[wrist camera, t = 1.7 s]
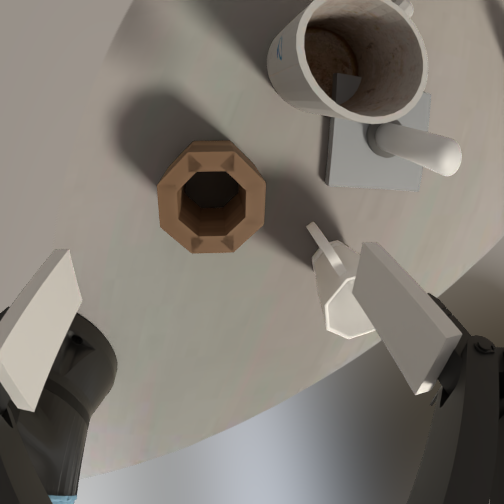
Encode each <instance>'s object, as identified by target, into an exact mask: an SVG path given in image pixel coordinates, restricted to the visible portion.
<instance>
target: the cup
mask: <svg viewBox="0 0 504 504" xmlns="http://www.w3.org/2000/svg"><path fill="white" fill-rule="evenodd" d="M306 227H307V229H308V231H309V232H310V234H311V235H312V237H313V238H314V240H315V241H316V243H317V245H318V246H319V248H318V250H317V251H316V252H315V254H314V255H313V256H312V264H313V271H314V273H315V275H316V283H317V291H318V296H319V300H320V304H321V308H322V312H323V316H324V321H325V325H326V329H327V330H328V331H330V332H333V333H335V334H337V335H340V336H342V337H345V338H347V339H351V338H354V337H357V336H360V335H363V334H366V333H369V332H372V331H375V330H376V329H375V328H374V326H373V325H372V323H371V322H370V320H369V318H368V317H367V315H366V314H365V312H364V311H363V309H362V308H361V306H360V304H359V303H358V301H357V300H356V298H355V297H354V295H353V294H352V290H353V286H354V282H355V277H356V273H357V268H358V264H359V259H360V254H359V253H357V252H356V251H354V250H353V249H351V248H349V247H348V246H346V245H345V244H343V243H342V242H340V241H338V240H336V241H332V242H328V240H327V239H326V237H325V236H324V235H323V233H322V232H321V230H320V229H319V228H318V226H317V225H316V224H315V223H314V222H311V223H310V224H308V225H307V226H306Z"/></svg>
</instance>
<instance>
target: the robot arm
mask: <svg viewBox="0 0 504 504" xmlns="http://www.w3.org/2000/svg"><path fill="white" fill-rule="evenodd" d="M352 294H353V295H354V297H355V298H356V300H357V301H358V303H359V304H360V306H361V308H362V309H363V311H364V312H365V314H366V315H367V317H368V318H369V320H370V322H371V323H372V325H373V326H374V328H375V329H376V331H377V333H378V334H379V336H380V337H381V339H382V341H383V342H384V344H385V346H386V347H387V349H388V350H389V352H390V354H391V355H392V357H393V359H394V360H395V362H396V364H397V365H398V367H399V369H400V370H401V372H402V374H403V375H404V377H405V379H406V380H407V382H408V384H409V386H410V387H411V389H412V391H413V392H414V394H415V395H417V394H420V393H424V392H427V391H430V390H431V389H432V387H433V386H434V384H435V383H436V381H437V380H439V381H440V383H441V384H442V386H441V387H440V389H439V391H438V392H437V394H436V395H435V397H434V398H433V400H432V401H431V403H430V405H431V406H432V405H433V404H434V402H435V401H436V406H435V410H434V415H433V419H432V424H431V428H430V432H429V436H428V440H427V444H426V447H425V451H424V454H423V457H422V461H421V464H420V467H419V470H418V473H417V477H416V479H415V482H414V485H413V488H412V491H411V494H410V496H409V499H408V501H407V504H489V499H490V504H504V348H498V347H495V346H494V344H493V343H492V342H491V341H489V340H488V339H486V338H485V337H482V336H471V335H470V334H469V333H468V332H467V330H466V329H465V328H464V327H463V326H462V325H461V323H460V322H459V321H458V320H457V319H456V318H455V317H454V316H452V313H451V312H450V311H449V310H448V309H446V307H445V305H444V304H443V303H441V301H440V300H439V299H437V298H436V297H434V296H433V295H431V294H430V293H426V292H425V291H424V290H423V289H422V288H421V287H420V285H419V284H418V283H417V282H416V281H415V280H414V279H413V278H412V277H411V276H410V275H409V274H408V273H407V272H406V271H405V270H404V269H403V268H402V267H401V266H400V265H399V264H398V263H397V261H396V260H395V259H394V258H393V257H392V256H391V255H390V254H389V253H388V252H387V251H386V250H385V249H384V248H383V247H382V246H381V245H379V244H378V243H377V242H363V244H362V249H361V254H360V259H359V264H358V268H357V273H356V277H355V282H354V286H353V290H352ZM81 303H82V297H81V294H80V290H79V287H78V283H77V279H76V276H75V272H74V268H73V264H72V259H71V255H70V251H69V249H55V250H54V251H53V253H52V254H51V255H50V256H49V257H48V259H47V260H46V261H45V262H44V263H43V265H42V266H41V267H40V268H39V270H38V271H37V272H36V273H35V275H34V276H33V277H32V279H31V280H30V281H29V282H28V284H27V285H26V286H25V288H24V289H23V290H22V292H21V293H20V294H19V296H18V297H17V298H16V300H15V301H14V302H13V304H12V305H11V307H7V308H6V309H5V310H4V311H3V312H1V313H0V504H74V501H75V500H76V499H77V490H78V482H79V476H80V469H81V463H82V457H83V451H84V446H85V441H86V436H87V430H88V426H89V422H90V418H91V416H92V414H93V413H94V412H95V410H96V409H97V408H98V406H99V405H100V404H101V402H102V401H103V399H104V398H105V396H106V395H107V394H108V393H109V391H110V390H111V388H112V386H113V384H114V380H115V376H116V372H117V359H116V355H115V353H114V351H113V349H112V347H111V345H110V344H109V342H108V341H107V339H106V338H105V337H104V336H103V334H102V333H101V332H100V331H99V330H98V329H97V328H95V327H94V326H93V325H92V324H91V323H89V322H88V321H87V320H85V319H84V318H82V317H81V316H79V315H77V314H76V313H77V311H78V309H79V307H80V305H81Z"/></svg>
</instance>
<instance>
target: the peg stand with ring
mask: <svg viewBox="0 0 504 504" xmlns="http://www.w3.org/2000/svg"><path fill="white" fill-rule="evenodd" d="M361 78H362V77H358V76H352V75H347V74H341V73H334V74H333V86H332V100H333V101H334V102H335V103H337V104H338V105H340V104H342V103H344V102H346V101H347V100H349V99H350V98H351V97H352V96H353V95H354V93H355V92H356V91H357V89H358V87H359V85H360V83H361ZM430 104H431V94H429V93H425V92H423V94H422V96H421V98H420V99H419V101H418V102H417V104H416V105H415V107H413V108H412V109H411V110H410V111H409V112H408V113H407V114H406V115H404V116H402V117H400V118H399V119H397V120H394V121H391V122H387V123H381V124H368V123H360V122H355V121H351V120H346V119H340V118H335V117H330V131H329V144H328V156H327V167H326V177H325V184H326V185H328V186H333V187H355V188H373V189H388V190H402V191H414V192H419V189H420V183H421V177H422V171H423V167H425V168H428V169H430V170H432V171H434V172H437V173H439V174H441V175H443V176H451V175H453V174H454V173H455V172H456V171H457V170H458V168H459V166H460V164H461V159H462V153H461V149H460V146H459V144H458V143H457V142H456V141H455V140H454V139H451V138H448V137H444V136H441V135H437V134H433V133H429V132H428V126H429V116H430Z"/></svg>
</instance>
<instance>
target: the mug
mask: <svg viewBox="0 0 504 504" xmlns="http://www.w3.org/2000/svg"><path fill="white" fill-rule="evenodd" d="M413 11H414V8H413V5H412V4H411V2H410V0H314V1H313V2H312V3H310V4H309V5H308V6H307V7H306V8H305V9H304V10H303V11H302V12H301V13H299V14H298V15H297V16H296V17H295V18H294V19H293V20H292V21H291V22H290V23H289V24H288V25H287V26H286V27H285V28H284V29H283V30H282V31H281V32H280V33H279V34H278V35H277V36H276V37H275V38H274V40H273V41H272V43H271V45H270V47H269V51H268V55H267V71H268V76H269V79H270V81H271V83H272V86H273V87H274V89H275V90H276V92H277V93H278V94H279V95H280V96H281V98H282V99H283V100H284V101H286V102H287V103H288V104H290V105H291V106H293V107H295V108H297V109H299V110H301V111H304V112H308V113H312V114H318V115H324V116H329V117H335V118H340V119H346V120H351V121H355V122H360V123H368V124H381V123H387V122H391V121H394V120H397V119H399V118H400V117H402V116H404V115H406V114H407V113H408V112H409V111H410V110H411V109H412V108H413V107H415V105H416V104H417V102H418V101H419V99H420V98H421V96H422V94H423V91H424V89H425V87H426V82H427V77H428V58H427V51H426V48H425V45H424V42H423V39H422V36H421V35H420V33H419V31H418V29H417V27H416V25H415V24H414V23H413V21H412V20H411V19H410V17H411V16H412V15H413ZM334 73H341V74H347V75H352V76H358V77H362V78H361V83H360V85H359V87H358V89H357V91H356V92H355V93H354V95H353V96H352V97H351V98H350V99H349V100H347V101H346V102H344V103H342V104H340V105H338V104H337V103H335V102H334V101H333V100H332V86H333V74H334Z"/></svg>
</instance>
